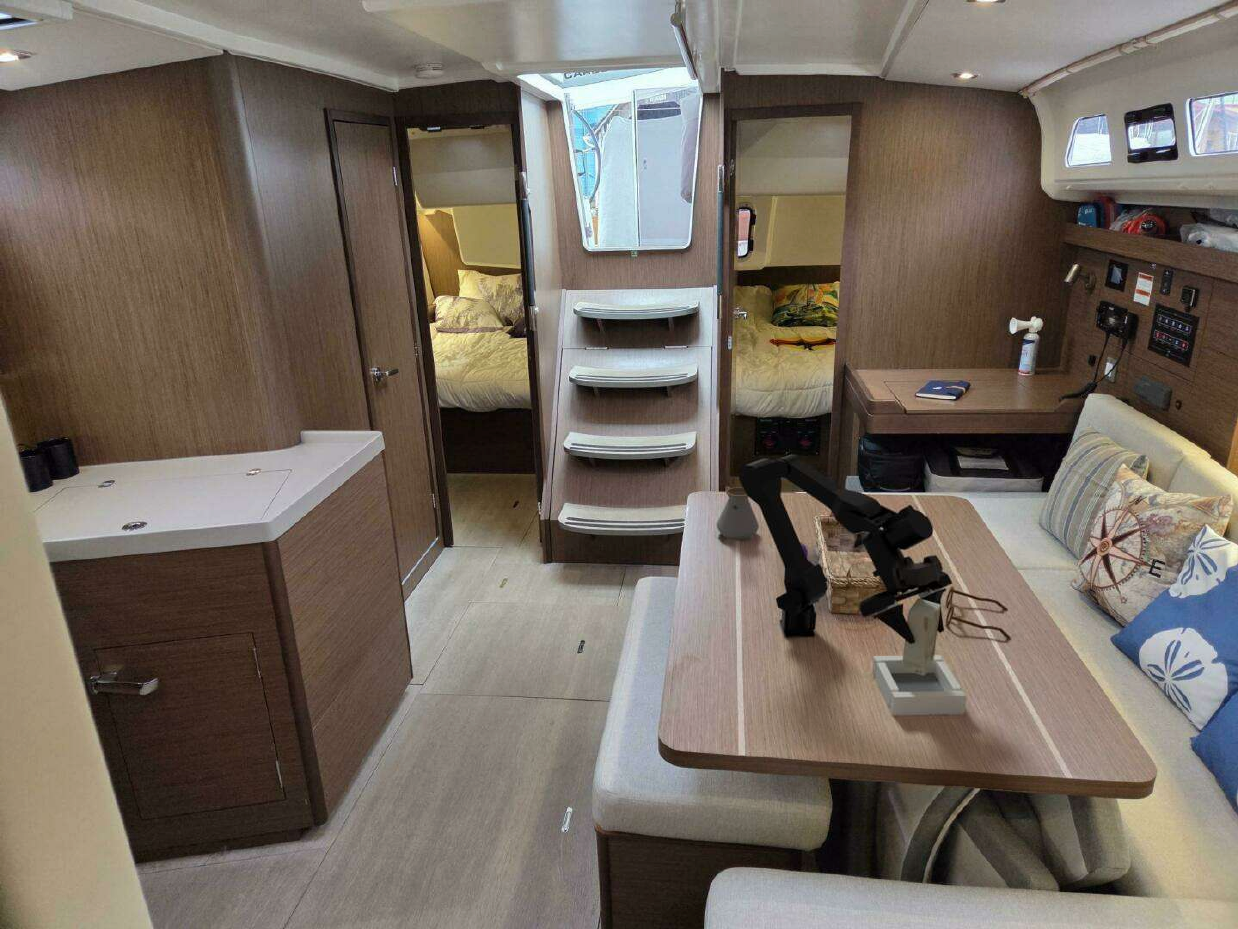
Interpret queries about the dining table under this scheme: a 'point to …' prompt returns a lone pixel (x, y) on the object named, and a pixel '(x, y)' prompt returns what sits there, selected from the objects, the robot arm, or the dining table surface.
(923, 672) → the skincare box
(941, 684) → the socket block
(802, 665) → the dining table surface
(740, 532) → the grey conical vessel
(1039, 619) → the dining table surface
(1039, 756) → the dining table surface
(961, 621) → the glasses
